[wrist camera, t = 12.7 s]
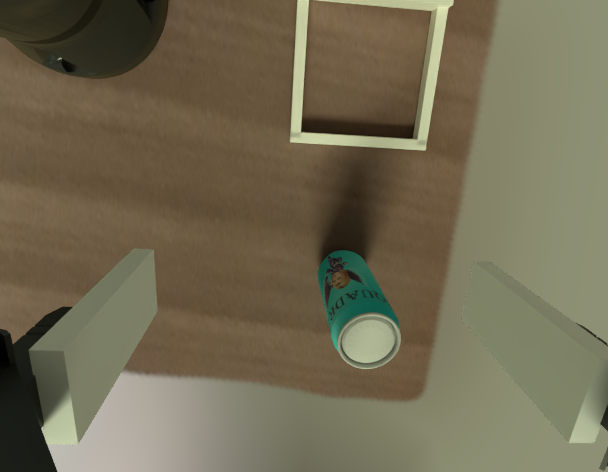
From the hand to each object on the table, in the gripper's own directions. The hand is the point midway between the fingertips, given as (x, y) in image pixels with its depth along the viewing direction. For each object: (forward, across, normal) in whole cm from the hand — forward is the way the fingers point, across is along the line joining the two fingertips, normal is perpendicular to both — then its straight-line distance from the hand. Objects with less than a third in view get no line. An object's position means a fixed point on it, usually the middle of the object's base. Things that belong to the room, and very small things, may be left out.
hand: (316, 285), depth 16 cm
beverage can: (+27, +6, -10) cm, 30 cm away
